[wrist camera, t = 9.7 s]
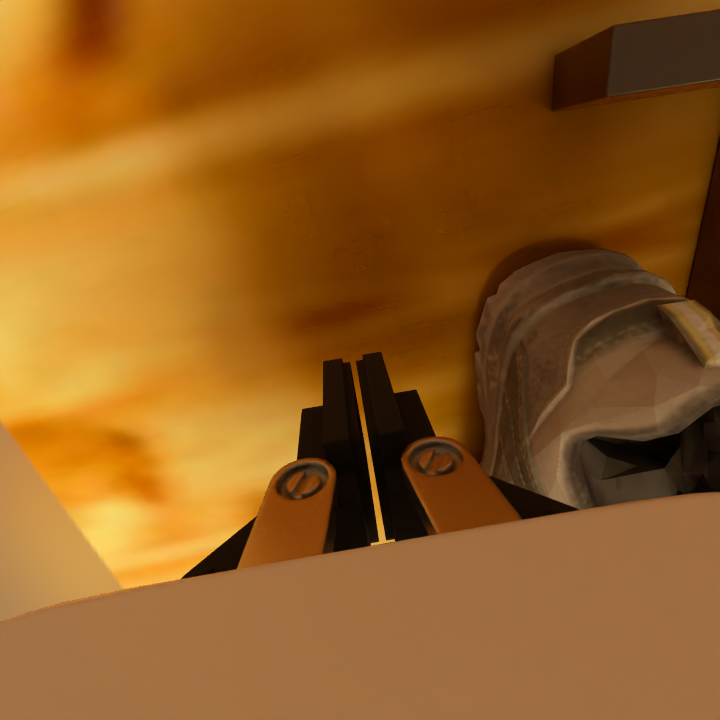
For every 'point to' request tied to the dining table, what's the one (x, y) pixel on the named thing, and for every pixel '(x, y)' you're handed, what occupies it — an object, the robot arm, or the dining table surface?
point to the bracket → (647, 79)
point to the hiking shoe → (598, 383)
